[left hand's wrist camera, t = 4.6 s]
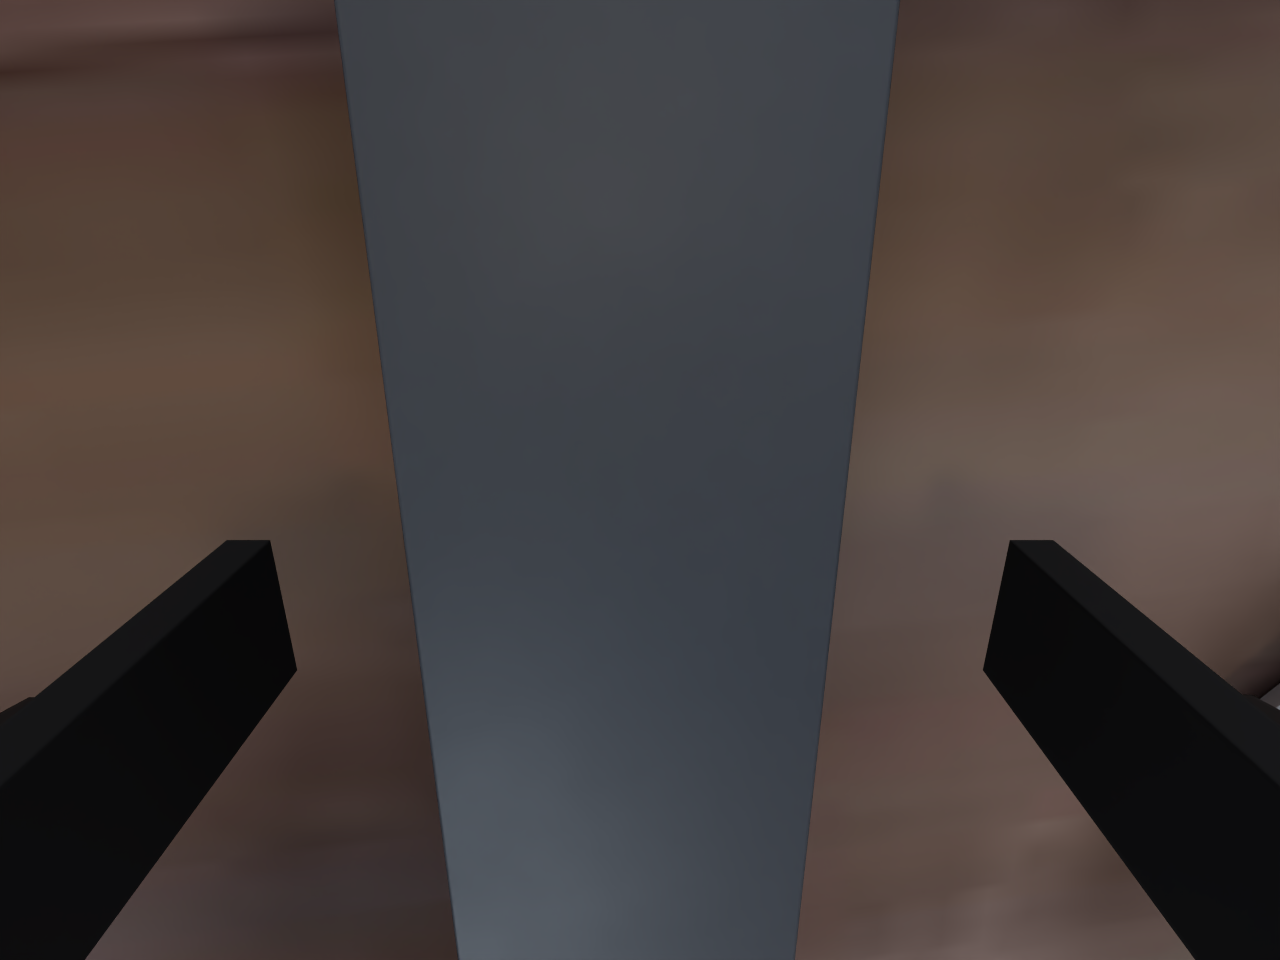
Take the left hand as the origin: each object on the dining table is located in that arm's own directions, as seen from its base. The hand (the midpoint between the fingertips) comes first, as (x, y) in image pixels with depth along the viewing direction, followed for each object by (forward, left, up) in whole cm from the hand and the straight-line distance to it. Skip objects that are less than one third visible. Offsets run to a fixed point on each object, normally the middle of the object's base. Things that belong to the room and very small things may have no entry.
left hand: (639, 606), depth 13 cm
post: (+29, +6, -4) cm, 30 cm away
